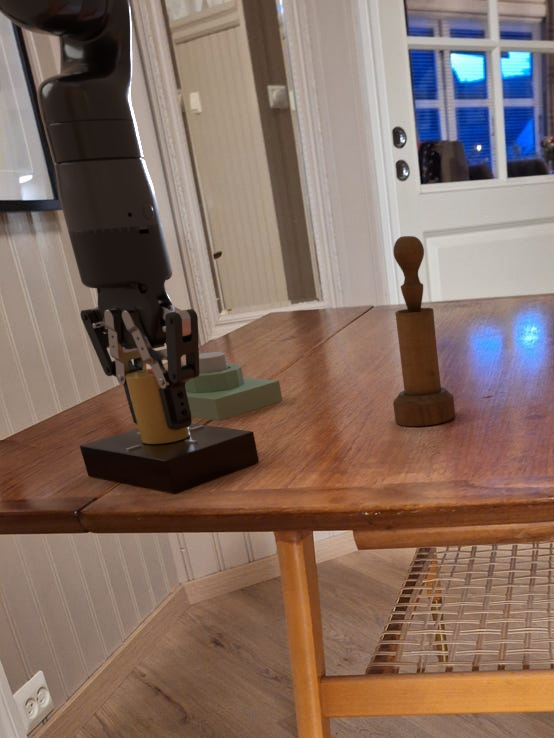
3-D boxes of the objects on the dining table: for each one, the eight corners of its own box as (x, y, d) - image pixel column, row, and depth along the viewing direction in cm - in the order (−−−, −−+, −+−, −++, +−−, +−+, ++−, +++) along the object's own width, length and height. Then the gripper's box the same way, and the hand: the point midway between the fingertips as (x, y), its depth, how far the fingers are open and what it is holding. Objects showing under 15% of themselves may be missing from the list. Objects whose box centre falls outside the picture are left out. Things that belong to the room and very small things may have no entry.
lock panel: (88, 476, 83) (78, 443, 81) (173, 448, 90) (166, 418, 88) (174, 494, 76) (165, 458, 74) (259, 462, 83) (253, 429, 82)
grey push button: (187, 375, 104) (183, 357, 103) (213, 368, 106) (210, 351, 106) (209, 377, 102) (205, 359, 101) (235, 370, 104) (232, 352, 103)
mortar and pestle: (407, 411, 97) (388, 235, 89) (462, 411, 96) (448, 231, 87) (386, 427, 92) (364, 240, 83) (445, 427, 90) (428, 236, 81)
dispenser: (154, 412, 106) (145, 375, 103) (218, 394, 113) (210, 358, 111) (219, 421, 99) (211, 381, 97) (282, 401, 106) (276, 363, 104)
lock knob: (132, 441, 81) (114, 372, 78) (170, 429, 84) (154, 363, 81) (161, 446, 79) (144, 375, 76) (200, 434, 82) (184, 365, 79)
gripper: (26, 229, 74) (83, 428, 82) (128, 223, 66) (179, 443, 74) (103, 222, 79) (149, 410, 87) (205, 216, 72) (245, 422, 80)
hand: (163, 424), depth 81 cm, fingers closed on lock knob, 4 cm apart
